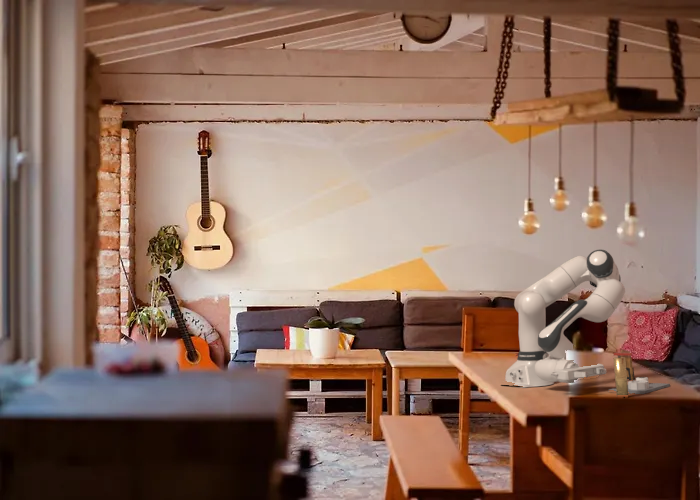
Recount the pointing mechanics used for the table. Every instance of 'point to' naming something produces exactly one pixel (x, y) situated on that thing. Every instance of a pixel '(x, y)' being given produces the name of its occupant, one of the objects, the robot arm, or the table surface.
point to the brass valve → (621, 374)
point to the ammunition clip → (628, 365)
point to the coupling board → (651, 388)
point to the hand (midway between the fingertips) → (595, 373)
